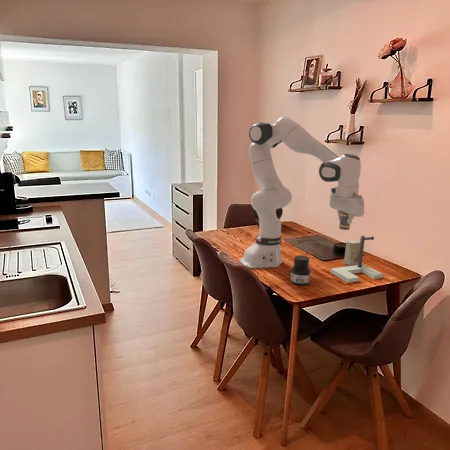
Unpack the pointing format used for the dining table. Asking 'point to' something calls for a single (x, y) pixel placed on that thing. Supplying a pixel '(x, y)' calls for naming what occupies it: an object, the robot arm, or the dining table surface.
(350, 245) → the skincare box
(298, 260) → the ink bottle
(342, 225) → the grey banded cylinder
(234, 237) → the dining table surface
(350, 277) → the post stand
